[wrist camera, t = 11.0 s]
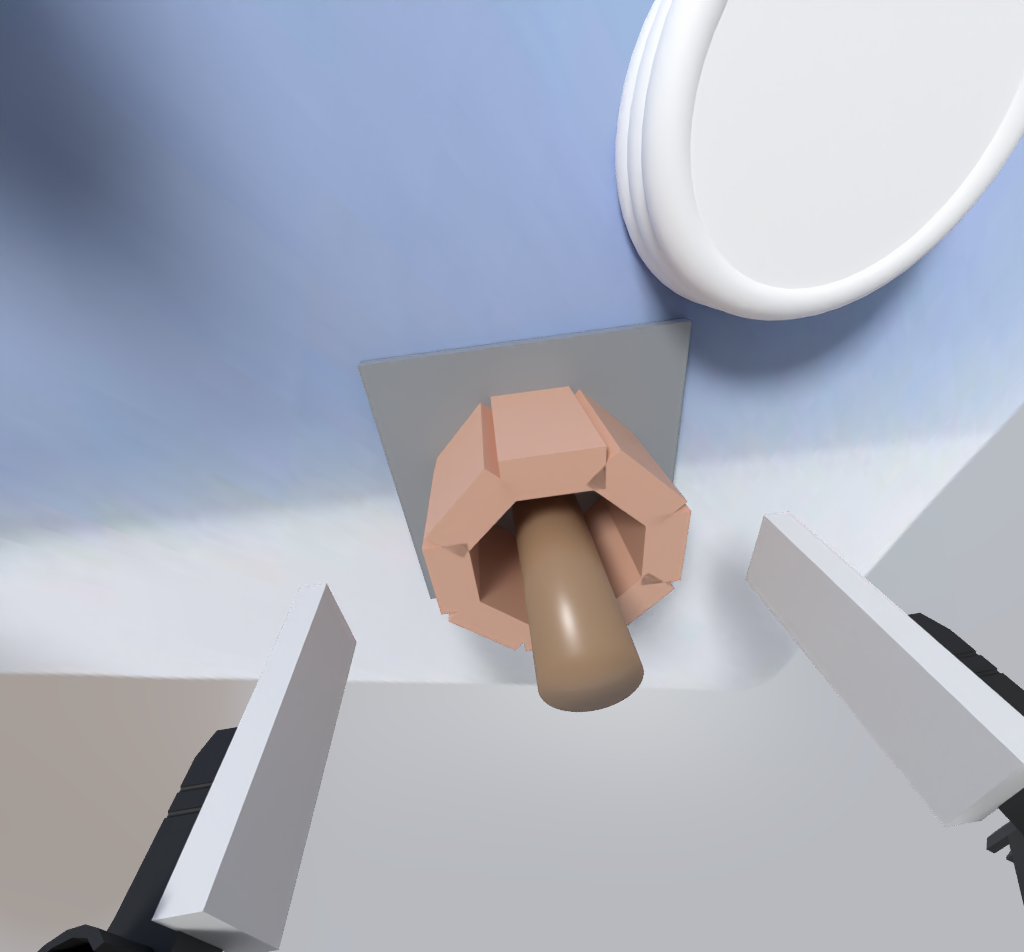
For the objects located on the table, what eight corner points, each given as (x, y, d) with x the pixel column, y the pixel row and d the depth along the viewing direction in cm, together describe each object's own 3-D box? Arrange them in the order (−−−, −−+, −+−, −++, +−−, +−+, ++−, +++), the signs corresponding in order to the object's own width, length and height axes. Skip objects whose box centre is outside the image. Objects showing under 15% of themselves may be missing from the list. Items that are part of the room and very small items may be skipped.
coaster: (1023, -104, 10) (1246, -238, 7) (842, 310, 16) (930, 329, 13) (648, -158, 9) (729, -338, 6) (588, 301, 15) (617, 319, 12)
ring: (459, 567, 20) (455, 661, 15) (419, 406, 15) (399, 474, 11) (629, 543, 20) (672, 629, 15) (639, 376, 15) (703, 432, 11)
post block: (431, 589, 21) (406, 817, 13) (361, 361, 15) (225, 524, 7) (658, 557, 21) (775, 761, 13) (684, 318, 15) (941, 424, 7)
